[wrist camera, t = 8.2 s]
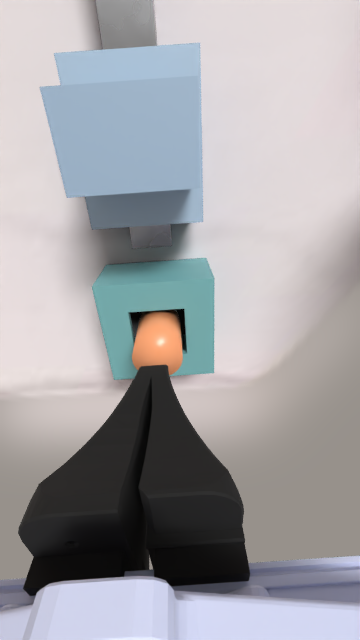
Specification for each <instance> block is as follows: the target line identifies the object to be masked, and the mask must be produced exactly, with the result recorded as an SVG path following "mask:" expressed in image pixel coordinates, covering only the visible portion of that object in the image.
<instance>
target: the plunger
mask: <svg viewBox="0 0 360 640" xmlns="http://www.w3.org/2000/svg"><path fill="white" fill-rule="evenodd" d="M182 360H183V354H182V339H181V323H180V317H179V315H178V313H177V312H176V311H175V310H174V309H171V310H156V311H143V312H142V313H141V315H140V319H139V324H138V329H137V333H136V338H135V343H134V348H133V353H132V361H133V364H134V366H135V368H136V369H137V370H138V369H139V368H140V367H141V366H152V365H167V366H168V369H169V376H170V375H172V374H173V373H175V372H176V371H177V370H178V369H179V368H180V366H181V364H182Z"/></svg>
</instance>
